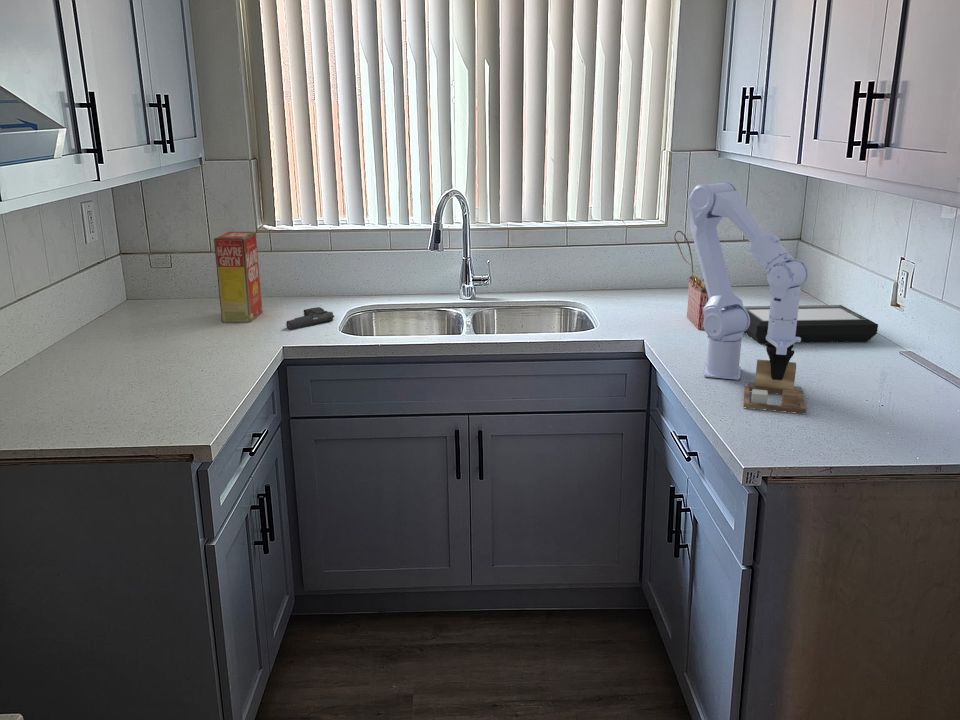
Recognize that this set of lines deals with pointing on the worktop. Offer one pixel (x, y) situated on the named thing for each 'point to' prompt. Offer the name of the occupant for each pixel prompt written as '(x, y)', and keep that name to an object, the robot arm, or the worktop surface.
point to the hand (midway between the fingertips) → (776, 377)
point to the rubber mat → (794, 386)
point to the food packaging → (238, 276)
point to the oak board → (766, 380)
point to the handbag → (695, 296)
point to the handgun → (310, 318)
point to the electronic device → (816, 324)
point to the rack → (773, 407)
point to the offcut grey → (759, 396)
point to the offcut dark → (790, 398)
